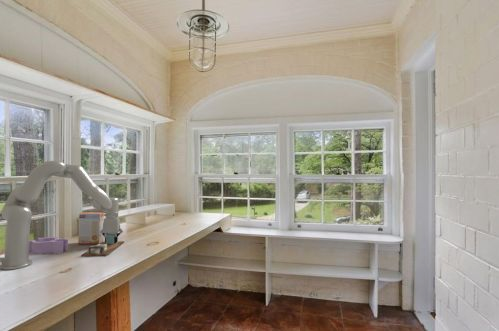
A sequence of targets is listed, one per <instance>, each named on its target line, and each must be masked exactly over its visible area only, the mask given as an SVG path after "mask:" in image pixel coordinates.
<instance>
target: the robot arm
mask: <svg viewBox="0 0 499 331" xmlns="http://www.w3.org/2000/svg"><path fill="white" fill-rule="evenodd" d="M52 177H59V178H64V179H71V180H72V181H73V182H74V183H75V184H76V186H77V187H78V189H79V190H80V191H81V192H82V193H84V194H85V195H87V196H88V197H90V198H92V199H93V200H92V202H91V206H92V208H94V209H95V210H100V211H103V212H104V211H105V213H104V222H103V229H102V230H101V231H100V233H101V234H102V235H103V238H104V241H105V243H106V235H107V234H109V233H114V234H115V237H114V243H116V242H117V241H119V236H120V235H121V234H123V233H124V230H123V229H122V228H121V220H120V217H119V208H120V207H119V205H120V204H119V203H120V202H119V201H120V199H119V198H118V197H109V196H108V194H107V193H106V191H104V190H103V189H102V188H101V187H100V186H99V185H97V184H96V183H95V181H94V180H93V179H92V178H91V176H90V175H89V173H87V171H86V169H84V167H83V166H81V165H79V164H69V163H64V162H63V161H60V160H47V161H43V163H41V164H39V165H37V166H36V167H34V168H33V169H32V170H31V171H30V173H29V174H28V176H27V177H26V179H25V180H24V182H23V184H19V185H17V186H16V187H14V189H13V190H12V191H11V192H10V194H9V195H8V198H7V199H6V202H5V203H4V205H3V206H2V210H1V217H2V218H3V219H4V220H6V226H5V233H4V234H5V235H4V237H5V239H4V257H3V256H1V257H0V263H1V264H0V270H3V271H11V270H17V269H23V268H26V267H28V266H30V265H32V264H33V260H32V259H29V257H30V256H29V254H30V252H29V241H30V231H31V222H32V221H31V220H32V215H33V214H32V211H31V209H30V208H29V207H28V205H29V204H31V203H34V202H36V201H37V200H38V199H39V197H40V196H41V193H42V191H43V189H44V187H45V185H46V183H47V182H48V181H49V179H51V178H52Z"/></svg>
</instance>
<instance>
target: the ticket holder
mask: <svg viewBox="0 0 499 331" xmlns="http://www.w3.org/2000/svg"><path fill="white" fill-rule="evenodd" d="M123 244H125V241H122V240H118V241H117V242H116V243H114V244H106V243H105V240H103V242H101V243H100V244H95V245H89V246H88V250H87V251H85V252H83V253H82V254H81V257H108V256H109V255H110V254H112V253H113V252H114V251H115V250H116V249H118V248H119V247H121V246H122V245H123Z"/></svg>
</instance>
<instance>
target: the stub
mask: <svg viewBox="0 0 499 331" xmlns="http://www.w3.org/2000/svg"><path fill="white" fill-rule="evenodd" d="M114 237H115V234H114V233H108V234H107V235H106V244H114Z"/></svg>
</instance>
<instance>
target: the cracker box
mask: <svg viewBox="0 0 499 331" xmlns="http://www.w3.org/2000/svg"><path fill="white" fill-rule="evenodd" d="M104 214H105V213H104V212H96V211H95V212H89V211H88V212H84V211H83V212H80V213H79V215H78V216H79V217H78V218H79V219H78V239H77V242H78V245H98V244H100V243H101V242H103V241H104V236H103V235H102V234H101V233H100V231H101V230H102V229H103V222H104V218H105V216H104Z"/></svg>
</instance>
